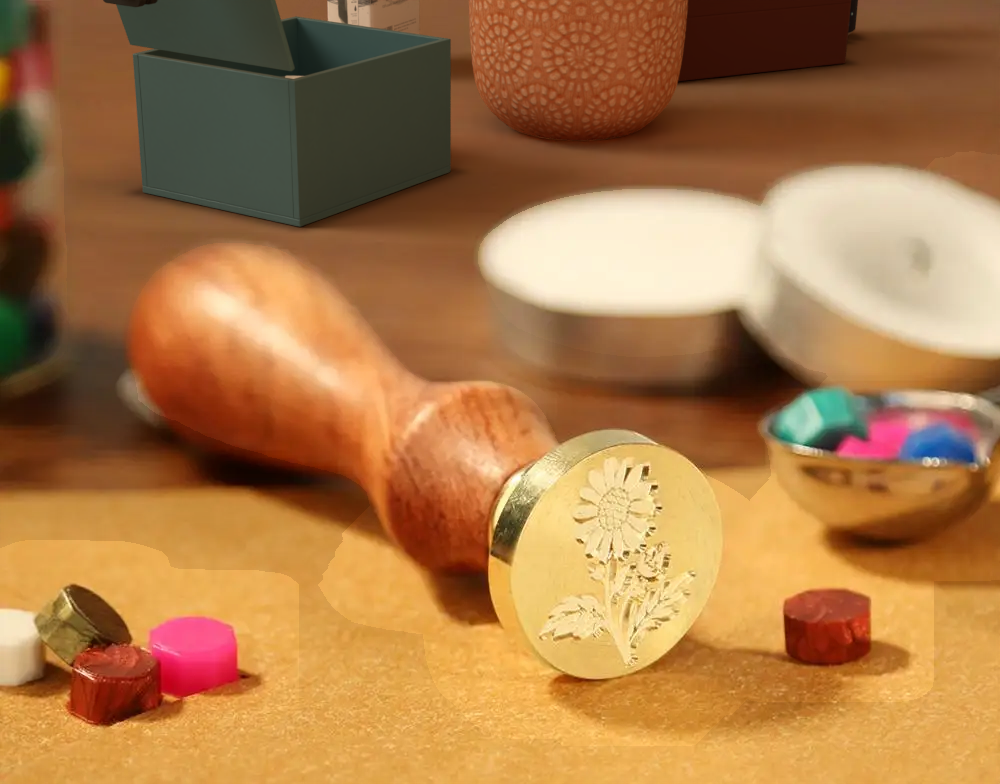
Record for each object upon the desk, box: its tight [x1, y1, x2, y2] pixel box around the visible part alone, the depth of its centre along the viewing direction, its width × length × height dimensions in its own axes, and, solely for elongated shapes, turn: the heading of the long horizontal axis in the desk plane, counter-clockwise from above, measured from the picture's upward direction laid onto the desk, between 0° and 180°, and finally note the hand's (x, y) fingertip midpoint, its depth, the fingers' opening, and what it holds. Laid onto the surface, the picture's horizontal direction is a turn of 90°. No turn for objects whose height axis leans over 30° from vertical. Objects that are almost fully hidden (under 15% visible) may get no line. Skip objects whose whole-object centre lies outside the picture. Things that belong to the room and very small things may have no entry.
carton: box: [132, 15, 452, 228], centre depth 127 cm, size 17×14×10 cm
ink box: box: [327, 0, 421, 34], centre depth 161 cm, size 9×5×12 cm, turn 153°
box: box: [678, 0, 851, 82], centre depth 168 cm, size 21×16×10 cm
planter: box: [468, 0, 688, 142], centre depth 141 cm, size 17×17×15 cm
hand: (130, 2), depth 111 cm, fingers closed
